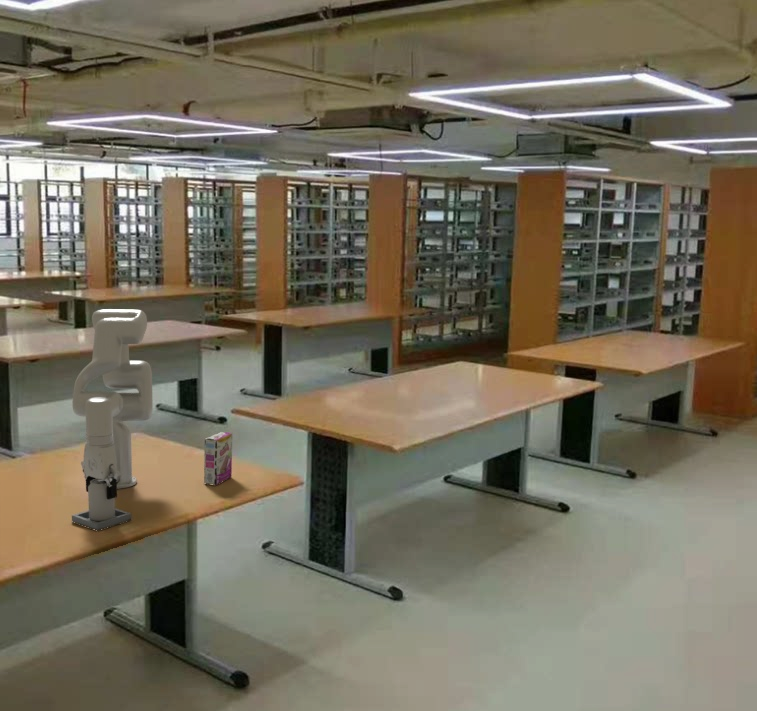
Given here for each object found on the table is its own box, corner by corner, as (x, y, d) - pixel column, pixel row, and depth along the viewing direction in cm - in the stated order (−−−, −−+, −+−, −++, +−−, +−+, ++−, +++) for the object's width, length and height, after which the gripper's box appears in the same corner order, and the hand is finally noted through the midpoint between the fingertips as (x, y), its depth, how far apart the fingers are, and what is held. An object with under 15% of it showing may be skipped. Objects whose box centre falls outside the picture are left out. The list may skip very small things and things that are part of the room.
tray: (72, 522, 248) (71, 515, 247) (105, 511, 257) (105, 504, 257) (97, 531, 241) (97, 524, 241) (131, 520, 251) (131, 513, 250)
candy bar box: (216, 486, 285) (216, 440, 282) (203, 484, 287) (203, 438, 284) (232, 477, 295) (232, 432, 293) (220, 475, 297) (220, 431, 295)
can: (120, 519, 250) (119, 480, 248) (97, 525, 244) (96, 485, 242) (106, 512, 255) (106, 475, 253) (84, 518, 249) (83, 480, 247)
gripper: (70, 436, 247) (72, 491, 251) (107, 447, 238) (109, 504, 241) (92, 431, 253) (93, 484, 257) (129, 442, 244) (130, 497, 247)
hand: (101, 494), depth 249 cm, fingers open, 9 cm apart
